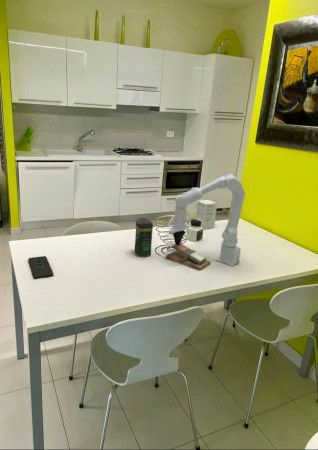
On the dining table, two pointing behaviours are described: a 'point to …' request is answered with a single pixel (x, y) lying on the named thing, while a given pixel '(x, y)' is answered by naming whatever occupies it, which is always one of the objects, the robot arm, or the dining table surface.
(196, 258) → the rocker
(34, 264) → the smart home device
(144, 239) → the coffee jar
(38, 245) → the dining table surface
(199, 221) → the medicine bottle
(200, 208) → the supplement box
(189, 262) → the switch base
